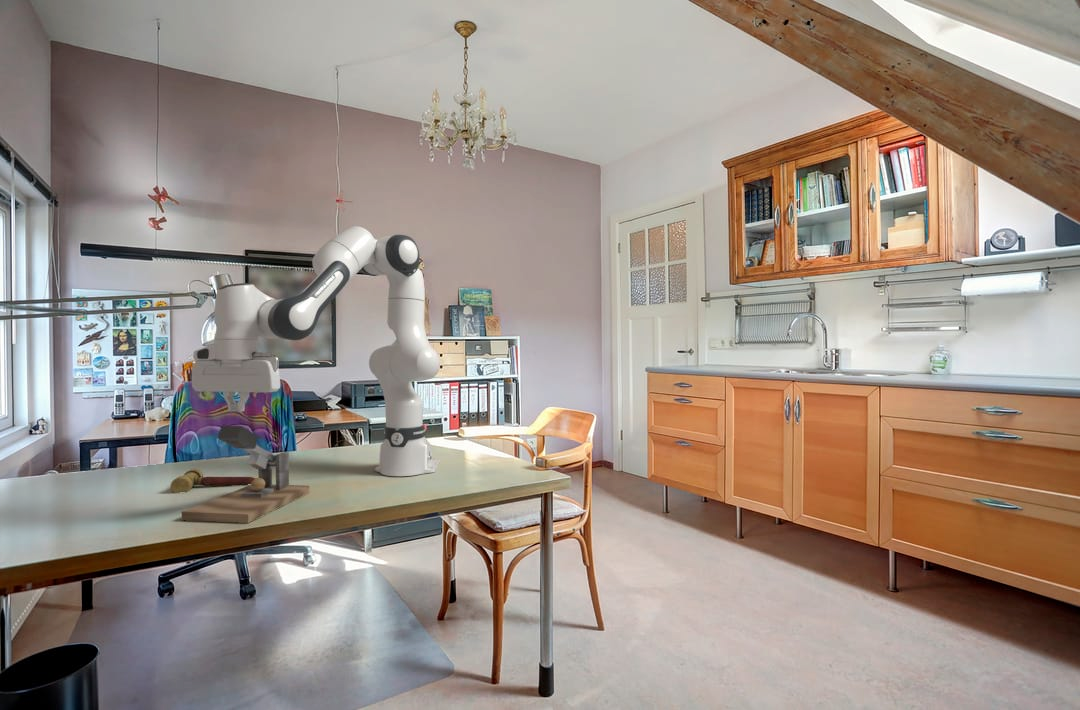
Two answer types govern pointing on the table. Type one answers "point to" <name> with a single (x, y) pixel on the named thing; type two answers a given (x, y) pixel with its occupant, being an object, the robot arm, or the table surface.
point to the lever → (247, 445)
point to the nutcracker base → (251, 497)
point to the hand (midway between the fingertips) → (236, 411)
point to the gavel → (205, 481)
